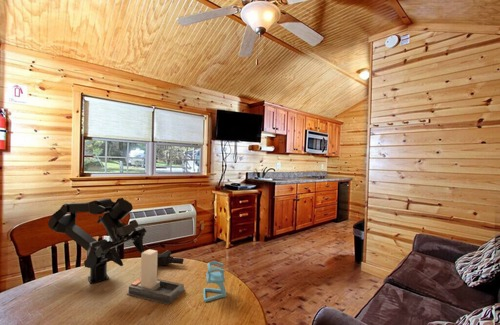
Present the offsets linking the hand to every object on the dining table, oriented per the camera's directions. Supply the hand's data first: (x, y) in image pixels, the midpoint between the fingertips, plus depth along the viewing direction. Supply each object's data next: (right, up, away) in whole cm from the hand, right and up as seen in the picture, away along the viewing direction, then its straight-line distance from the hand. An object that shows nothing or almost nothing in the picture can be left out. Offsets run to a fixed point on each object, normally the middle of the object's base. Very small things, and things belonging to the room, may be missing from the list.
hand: (133, 259), depth 93 cm
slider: (+7, -11, -2) cm, 13 cm away
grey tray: (+10, -11, -3) cm, 15 cm away
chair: (+32, -12, -4) cm, 34 cm away
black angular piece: (+7, -11, +20) cm, 24 cm away
